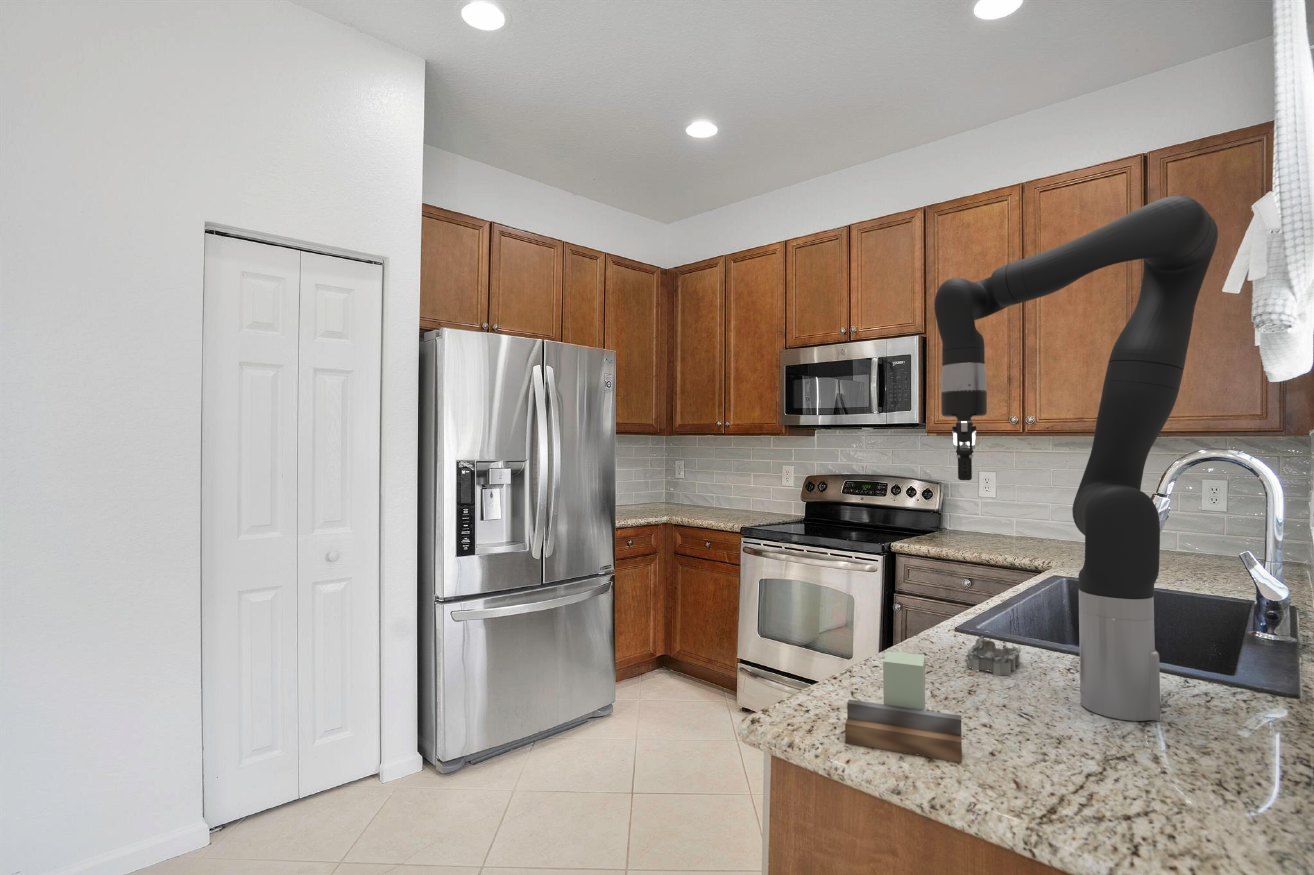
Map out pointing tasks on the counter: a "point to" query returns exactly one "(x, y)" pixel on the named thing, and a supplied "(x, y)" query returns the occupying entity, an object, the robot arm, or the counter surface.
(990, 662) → the grey scalloped block
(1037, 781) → the counter surface
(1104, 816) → the counter surface
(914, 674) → the green block
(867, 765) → the counter surface
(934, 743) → the dock
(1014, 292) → the robot arm
